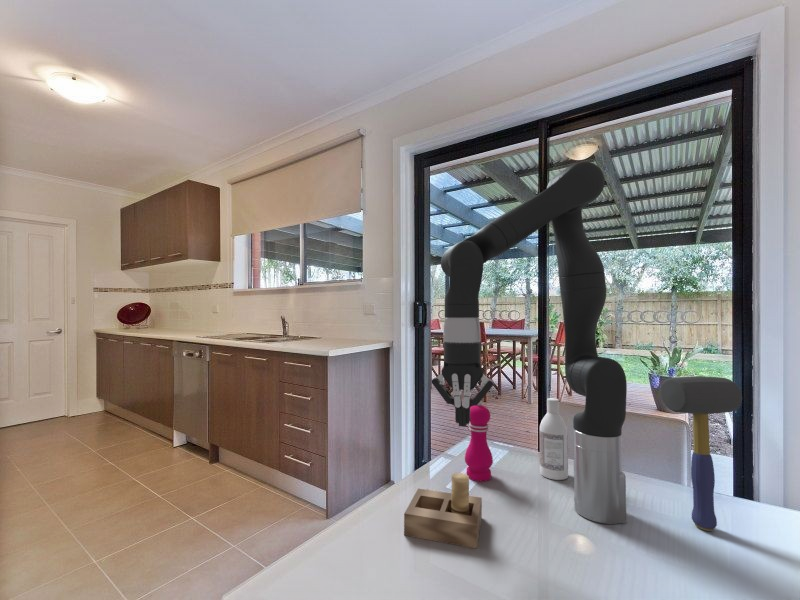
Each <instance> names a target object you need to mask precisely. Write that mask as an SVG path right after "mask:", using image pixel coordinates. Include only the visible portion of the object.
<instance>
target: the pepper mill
mask: <svg viewBox="0 0 800 600" xmlns="http://www.w3.org/2000/svg"><path fill="white" fill-rule="evenodd" d="M490 420H491V412H490V410H489V408H488V407H486V406H485V405H483V401H482V400H481V401H480V402H479V403H478V405H476V406H475V405H474V406H471V407H470V422H469V424H468V425H469V427H468V428H469V430H470V441H469V443H468V446H467V448H466V451H465V454H464V455H465V456H464V462H465V464H466V465H467V467H466V475H468V476H469V480H472V481H474V482H487V480H488V481H489V480H491V478H492V470H491V469H490V468H491V467H492V466H493V463H494V460H493V454H492V452H491V449H490V447H489V445H488V441H487V434H488V431H489V422H490Z"/></svg>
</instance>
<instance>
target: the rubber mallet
mask: <svg viewBox="0 0 800 600" xmlns="http://www.w3.org/2000/svg"><path fill="white" fill-rule="evenodd" d="M660 397H661V399H662V403H664V405H665V406H666V407H667V409H669V410H670V411H672V412H674V413H679V414H681V413H682V414H692V429H693V430H692V433H693V434H692V435H693V436H692V439H693V440H692V441H693V452H692V456H691V466H690V478H691V479H690V480H691V485H692V495H693V497H692V498H693V499H692V501H693V507H692V511H691V520H692V522H693V524H694V526H695V527H697V528H698V529H700V530H702V531H708V532H712V531H714V529H716V527H717V525H718V522H717V521H718V520H717V516H716V514H715V513H716V512H715V501H714V492H715V484H716V481H715V480H716V479H715V469H714V462H713V457H712V454H711V448H710V447H711V446H710V426H709V425H710V423H709V415H712V414H713V415H714V414H724V413H732V412H735V411H737V410H739V409H740V407H741V406H742V403H743V395H742V390H741V389H740V387H739V385H738V384H736V382H734V381H733V380H731V379H729V378H727V377H718V376H706V375H705V376H702V375H693V376H677V377H670V378H667V379H665V380H664V381H663V382H662V385H661V387H660Z"/></svg>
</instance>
